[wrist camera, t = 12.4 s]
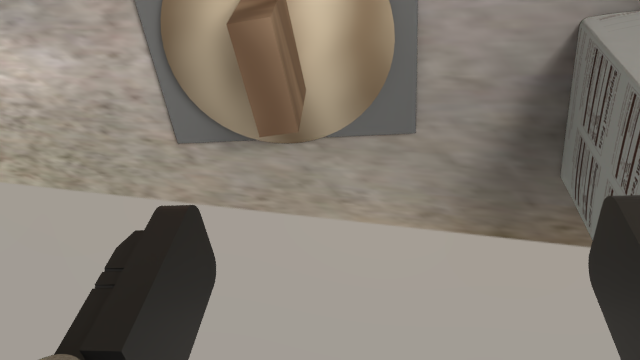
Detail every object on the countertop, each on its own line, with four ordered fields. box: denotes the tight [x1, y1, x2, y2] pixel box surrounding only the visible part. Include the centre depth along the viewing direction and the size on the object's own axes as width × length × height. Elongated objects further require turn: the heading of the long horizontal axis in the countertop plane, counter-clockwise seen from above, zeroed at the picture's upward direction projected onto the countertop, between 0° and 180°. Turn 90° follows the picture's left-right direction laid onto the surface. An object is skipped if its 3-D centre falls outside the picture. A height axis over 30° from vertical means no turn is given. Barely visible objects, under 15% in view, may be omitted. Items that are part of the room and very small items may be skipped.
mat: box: [135, 0, 418, 143], centre depth 35 cm, size 18×16×1 cm
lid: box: [161, 0, 395, 143], centre depth 32 cm, size 15×15×6 cm
